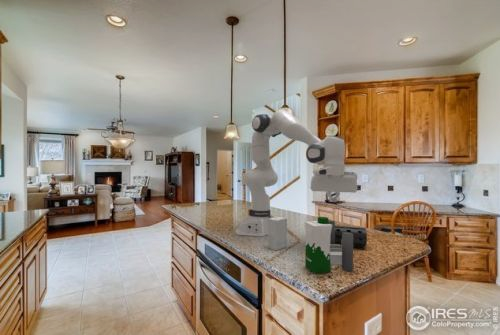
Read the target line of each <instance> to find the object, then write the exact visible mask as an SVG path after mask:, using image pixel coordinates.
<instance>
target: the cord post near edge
mask: <svg viewBox="0 0 500 335" xmlns="http://www.w3.org/2000/svg"><path fill="white" fill-rule="evenodd" d="M341 269H342V271H344V272H348V273H350V272H353V271H354V247H353V233H349V232H343V233H342V265H341Z"/></svg>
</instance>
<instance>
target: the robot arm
mask: <svg viewBox="0 0 500 335" xmlns="http://www.w3.org/2000/svg"><path fill="white" fill-rule="evenodd" d="M251 127H252V129H253V132H252V137H251V160H252V161H253V163H254V164H255V165H256V168H254V169H253V168H252V169H249V170H247V171H246V172H244V174H243V183H244V184H245V186H247V188H248V190H249V191H250V195H251V208H249V209H248V211H247V212H248V215H247V216H246V217H244V218H243V219H242V220H240V222H239V226H238V228H236V229H235V235H237V236H246V237H247V236H251V237H260V238H261V237H264V236H268V219H269V218H272V217H271V214H272V212H271V209H270V208H271V201H270V200H271V198H270V196H269V194H268V193H267V191H266V187H273V186H274V185H276V184H277V182H278V180H279V179H278V178H279V177H278V173H277V172H276V171H275V170H274V168H273V166H272V161H271V153H270V139H271V138H272V137H273V138H275V137H277V136H279V135H281V134H282V135H283V136H285V137H286V138H287V139H289V140H293V141H298V142H301V143H304V144H306V145H307V146H308V148H306V151H305V156H306V160H307V161H308V162H309V163H311V164H315V165H323V167H320V168H318V169H316V168H315V169H314V170H313V174H314V175H313V176H311V179H310V180H311V181H310V187H309V188H310V190H311V192H312V191H313V192H324V193H326V194H327V196H328V198H329V199H328V200H329V202H330V203H337V202H338V199H339V197H340V194H341V193H352V194H353V193H354V194H355V193H357V191H358V182H357V181H358V175H357V173H356V172H354V171H345V169H346V167H345V166H346V164H345V156H346V144H345V139H344V138H343V137H341V136H336V135H327V136H326V137H324V139H321V138H319V137H318V136H317V135H316V134H315V133H313V132H312V131H311V130H309V128H307V127H306V126H305V125H304V124H302V122H301V121H300V120H298V118H297V117H295V116H294V115H293V114H292V113H290V112H289V111H287V110H285V109H282V108H281V109H280V108H279V109H277V110H276V111H275V112H274V113H273V114H272V115H269V114H265V113H264V114H263V113H262V114H256V115H255V116H254V117H253V119H252V120H251ZM332 193H334V195H335V196H334V197H332Z"/></svg>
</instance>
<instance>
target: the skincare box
mask: <svg viewBox="0 0 500 335" xmlns="http://www.w3.org/2000/svg"><path fill="white" fill-rule="evenodd" d="M287 222H288V218H287V217H283V216H280V215H277V216H273V217H271V218H269V219H268V235H267V248H268V249H271V250H272V251H275V250H276V251H279V250H281V249H285V248H287V246H288V244H287V242H288V241H287V231H288V230H287V228H288V227H287V226H288V225H287V224H288V223H287Z"/></svg>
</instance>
